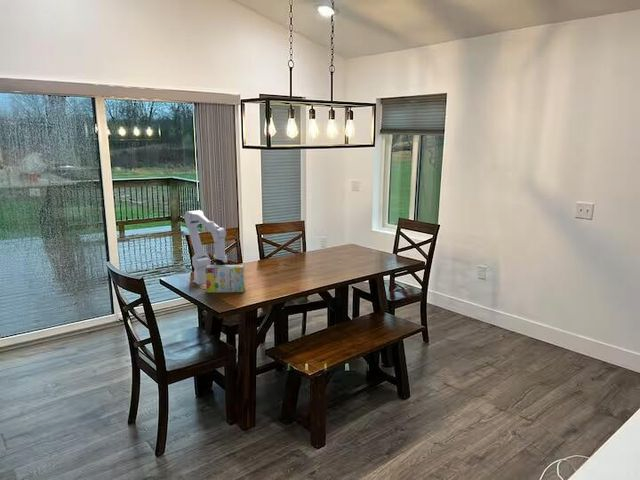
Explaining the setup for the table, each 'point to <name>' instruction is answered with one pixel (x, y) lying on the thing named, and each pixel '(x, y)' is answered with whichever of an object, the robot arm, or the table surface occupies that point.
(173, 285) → the table surface
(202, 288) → the cork coaster
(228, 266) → the snack box
